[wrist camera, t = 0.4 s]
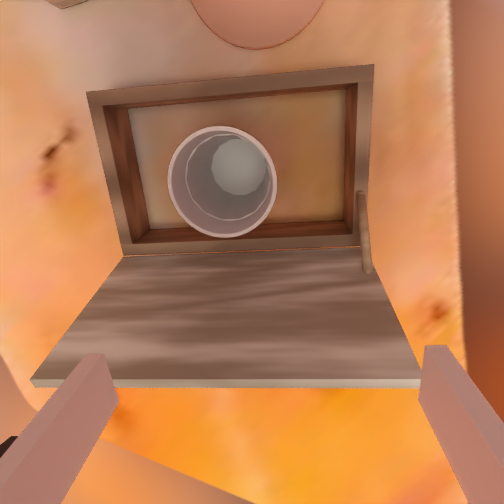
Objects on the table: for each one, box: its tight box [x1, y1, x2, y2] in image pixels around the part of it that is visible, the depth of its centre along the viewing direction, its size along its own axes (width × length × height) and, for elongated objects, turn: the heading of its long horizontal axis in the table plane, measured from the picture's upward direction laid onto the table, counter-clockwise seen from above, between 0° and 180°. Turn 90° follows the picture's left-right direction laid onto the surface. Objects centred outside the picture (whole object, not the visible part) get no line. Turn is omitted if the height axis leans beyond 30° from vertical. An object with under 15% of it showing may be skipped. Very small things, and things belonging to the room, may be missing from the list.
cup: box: [167, 126, 277, 238], centre depth 29 cm, size 8×8×12 cm
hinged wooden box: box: [30, 64, 422, 388], centre depth 26 cm, size 19×24×20 cm
